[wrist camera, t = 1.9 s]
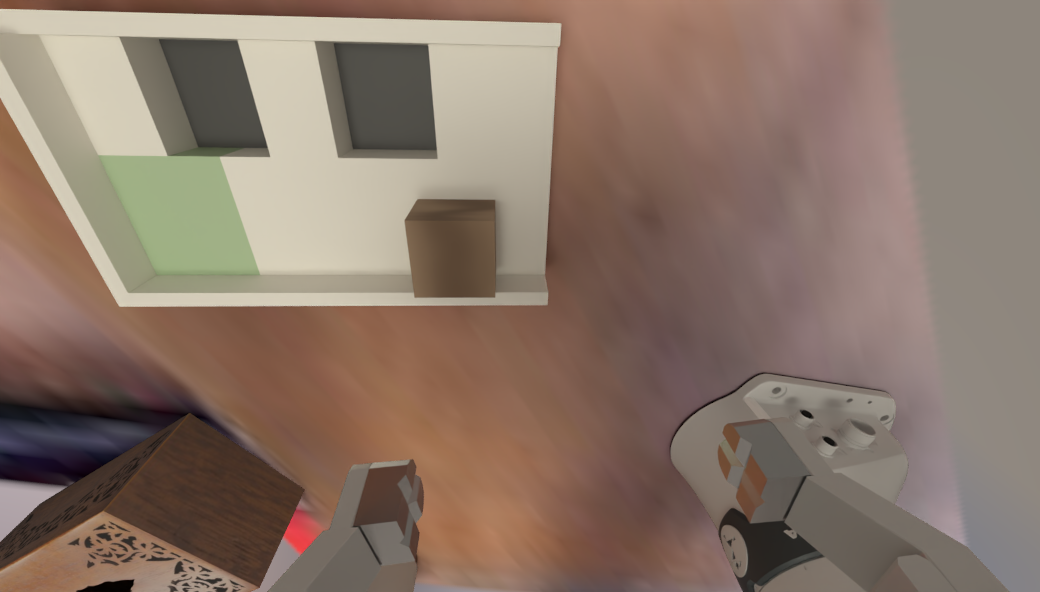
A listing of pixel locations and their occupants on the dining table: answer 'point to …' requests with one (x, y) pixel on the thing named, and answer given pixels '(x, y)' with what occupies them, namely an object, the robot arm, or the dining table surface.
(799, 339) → the dining table surface
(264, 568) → the tissue box cover
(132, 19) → the box
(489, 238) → the walnut block
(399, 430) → the dining table surface
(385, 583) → the can
